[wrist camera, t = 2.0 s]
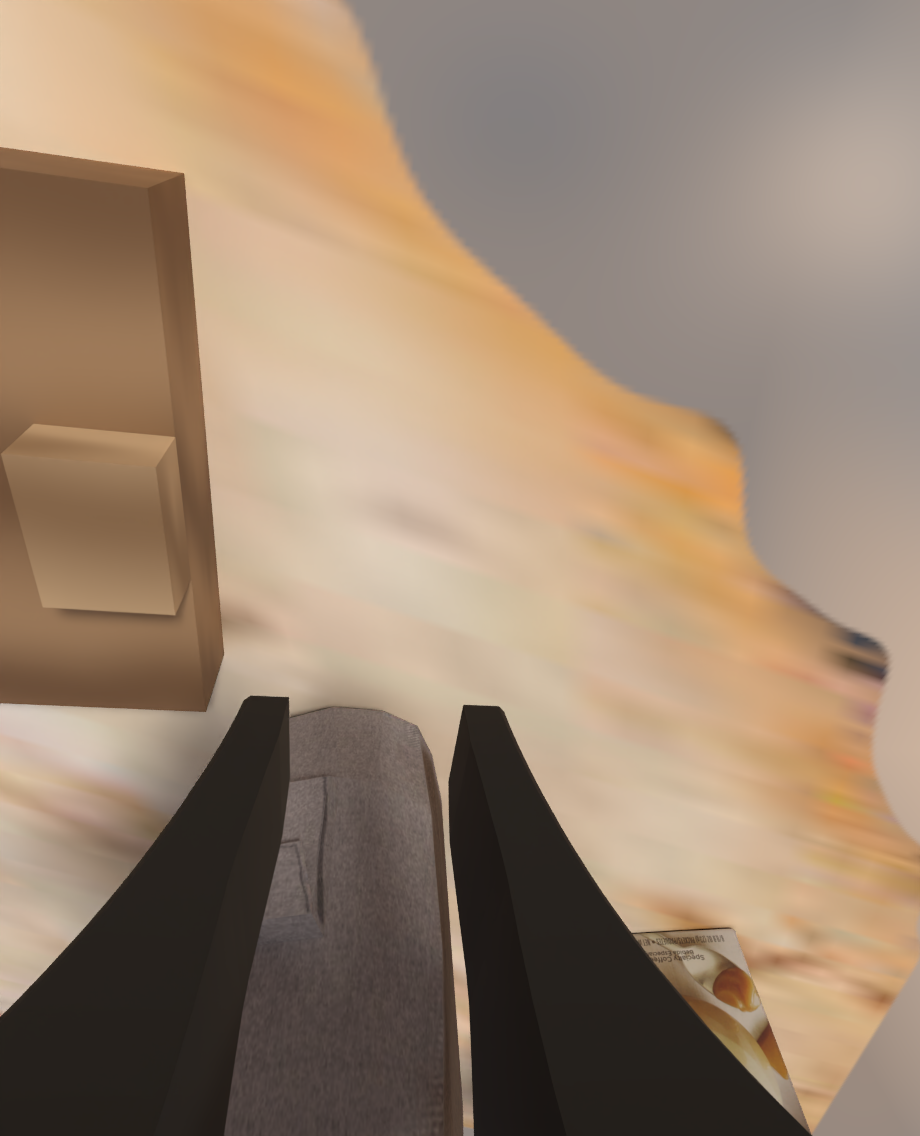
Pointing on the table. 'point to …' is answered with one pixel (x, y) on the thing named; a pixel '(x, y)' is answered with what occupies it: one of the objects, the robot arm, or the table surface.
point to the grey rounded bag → (353, 946)
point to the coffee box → (725, 1001)
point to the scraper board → (102, 374)
